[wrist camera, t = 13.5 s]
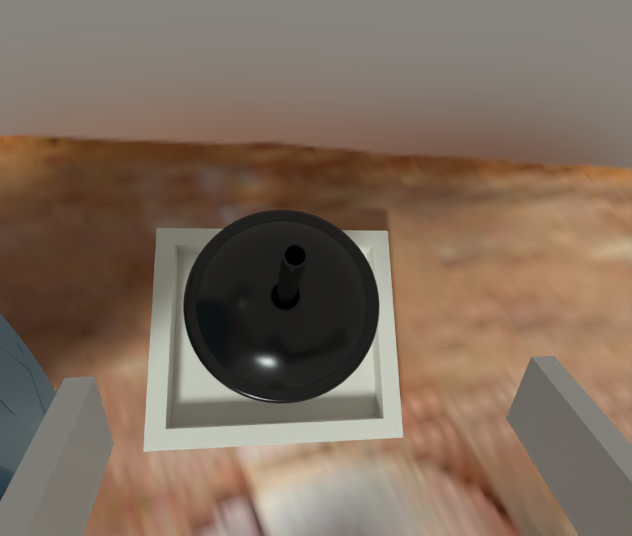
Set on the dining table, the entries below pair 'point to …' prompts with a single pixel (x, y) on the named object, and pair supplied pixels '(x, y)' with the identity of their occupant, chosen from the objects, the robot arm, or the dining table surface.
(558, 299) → the dining table surface
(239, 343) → the drinking cup
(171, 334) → the tray
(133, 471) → the dining table surface
